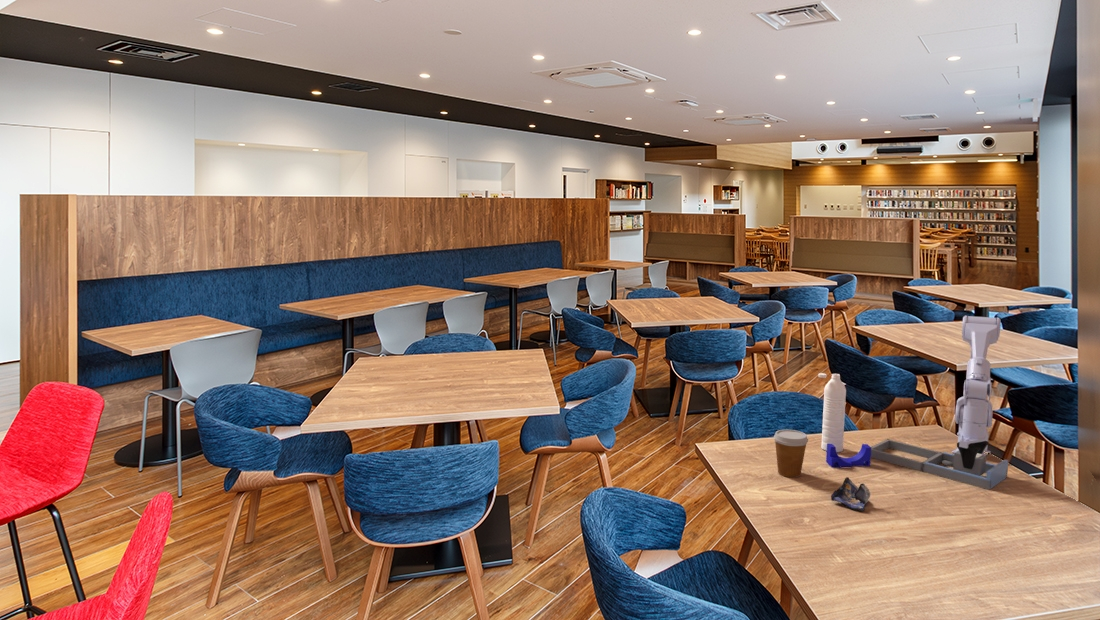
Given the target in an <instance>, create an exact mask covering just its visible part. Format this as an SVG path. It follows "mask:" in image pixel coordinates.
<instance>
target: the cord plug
mask: <svg viewBox="0 0 1100 620" xmlns="http://www.w3.org/2000/svg"><path fill="white" fill-rule="evenodd" d="M953 454H954V462H950V461H946V460H944V461H942V462H941V463H942V465H944V466H947V467H949V468H950V467H952V469H954V470H958V471H962V472H966V473H970V474H974V475H977V476H981V477H982V476H983V475H984V474H986V473H985V469H986V463H987V455H986V456H984V455H983V454H978V453H977V455H976V458H975V461H974V465H973V468H972V469H968V468H964V467H963V463H962V457H961V454H960V451H957V452H955V453H953Z"/></svg>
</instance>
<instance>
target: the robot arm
mask: <svg viewBox="0 0 1100 620" xmlns="http://www.w3.org/2000/svg"><path fill="white" fill-rule="evenodd" d="M961 329H962V330H961V338H962V341H964V342H966V343H968V345H969V348H970V359H969V360H968V361H967V364H966V365H967V366H966V377H965V378H966V379H965V380H964V383H963V396H961V397H959V398H958V399H957V400H956V406H955V412H954V413H955V414H954V415H955V416H954V422H955V423H956V424H958V432H957V433H956V435H957V443H956V448H955V449H954V450H952V451H951V454H954V453H955V452H957V451H960V454H961V457H962V463H963V467H964V468H968V469H972V468H973V465H974V461H975V458H976V455H977V453H978V454H983V455H984V456H986V457H987V456H988V455H989V454H991V450H988V445H989V435H990V433H989V430H988V428H991V427H992V424H993V412H994V411H993V403H992V402H991V401H990V400H991V397H992V396H991V395H992V381H991V362H990V361H989V360H988V359H987V355H988V349H989V347H990V345H994V344H997V343H998V341H999V337H1000V336H1001V335H1000V334H1001V318H999V317H989V316H971V315H970V316H969V315H964V316H963V317H962V325H961ZM987 398H988V399H987ZM984 451H985V452H988V453H989V454H987V453H985V452H984ZM984 453H985V454H984Z"/></svg>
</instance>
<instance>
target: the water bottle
mask: <svg viewBox="0 0 1100 620" xmlns="http://www.w3.org/2000/svg"><path fill="white" fill-rule="evenodd" d="M827 376H828V375H827V374H826V373H822V372H819V373H818V374H817V377H818V378H821V379H826V378H827ZM823 389H824V390H823V394H824V395H823V405H822V406H823V410H822V411H823V412H822V426H821V427H822V431H821V449H822V450H823V451H826V452H827V444H833V445H834V446H835V447H836V452H837V453H841V452H843V451H844V435H845V417H846V402H847V401H846V397H847V388H846V386H845V384H844V383H843V382H842V380H841V375H840V373H832V374H831V378H830V380H828V382H827V383H826V384H825V386H824V388H823Z"/></svg>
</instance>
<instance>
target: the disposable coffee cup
mask: <svg viewBox="0 0 1100 620" xmlns="http://www.w3.org/2000/svg"><path fill="white" fill-rule="evenodd" d="M773 440H774V442H775V452H776V453H775V454H776V464H777V473H778V474H779V475H780V476H783V477H786V478H798V477H800V476H801V475H802V469H803V463H804V457H805V453H806V447H807V444H808V442H809V438H808V437H807V434H806V433H804V432H803V431H799V430H797V429H796V430H795V429H779V430H777V431H775V433H774V435H773Z"/></svg>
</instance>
